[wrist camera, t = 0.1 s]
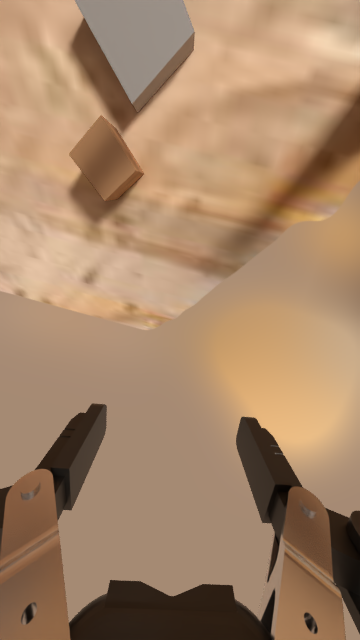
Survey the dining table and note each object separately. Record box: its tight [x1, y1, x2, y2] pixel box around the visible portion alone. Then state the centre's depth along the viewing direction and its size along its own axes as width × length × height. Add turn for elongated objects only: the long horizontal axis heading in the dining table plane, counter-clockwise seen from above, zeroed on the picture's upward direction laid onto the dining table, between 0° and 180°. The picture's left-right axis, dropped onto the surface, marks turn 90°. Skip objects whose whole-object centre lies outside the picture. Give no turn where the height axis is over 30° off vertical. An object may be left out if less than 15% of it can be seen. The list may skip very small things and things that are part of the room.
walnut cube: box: [69, 116, 144, 201], centre depth 26 cm, size 6×6×6 cm
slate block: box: [75, 0, 195, 113], centre depth 20 cm, size 9×9×4 cm
